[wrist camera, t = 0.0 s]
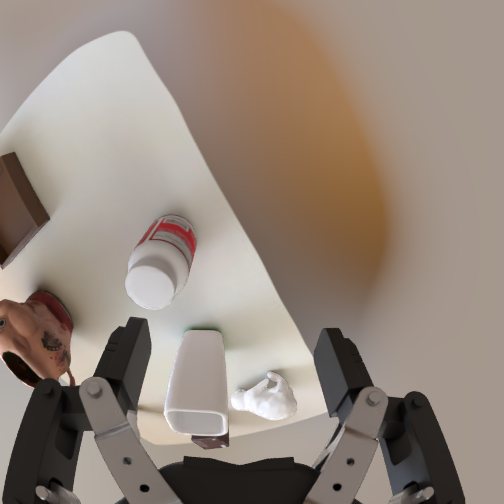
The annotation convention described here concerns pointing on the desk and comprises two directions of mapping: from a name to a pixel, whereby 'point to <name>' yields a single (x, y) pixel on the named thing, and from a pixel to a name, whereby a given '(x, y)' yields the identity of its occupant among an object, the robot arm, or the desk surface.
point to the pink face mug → (36, 338)
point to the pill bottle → (161, 262)
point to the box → (211, 441)
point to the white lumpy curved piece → (267, 399)
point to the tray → (17, 209)
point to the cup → (198, 386)
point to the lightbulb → (133, 421)
